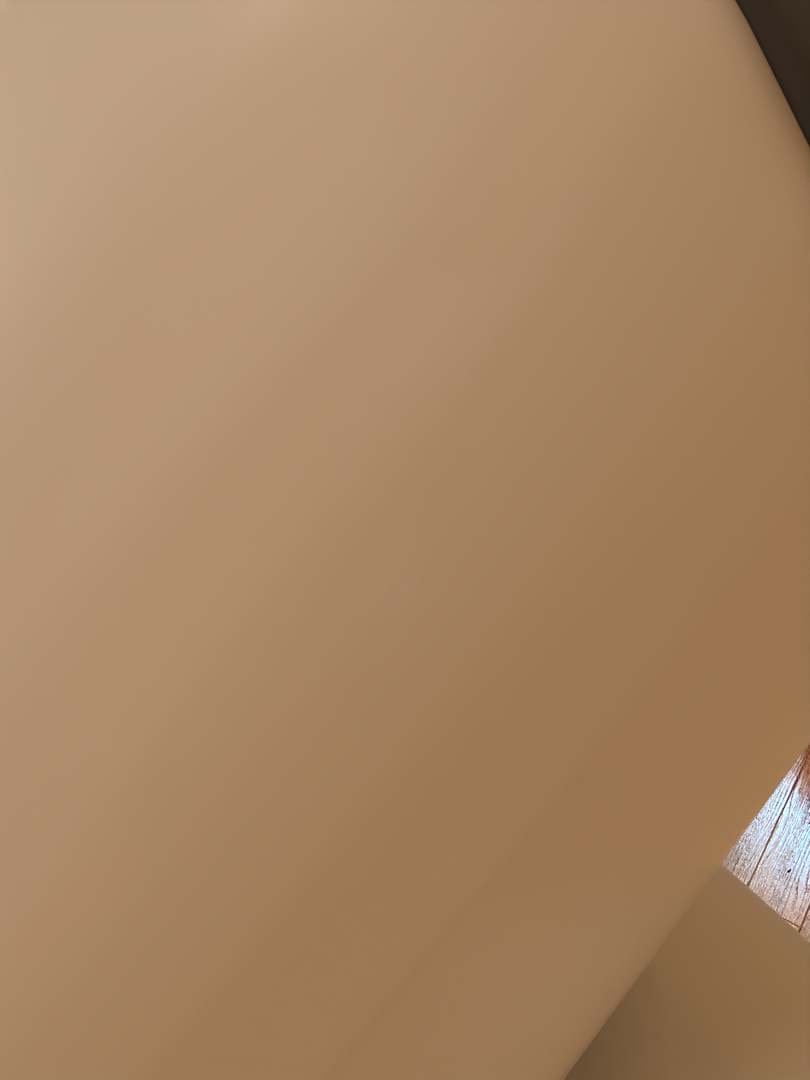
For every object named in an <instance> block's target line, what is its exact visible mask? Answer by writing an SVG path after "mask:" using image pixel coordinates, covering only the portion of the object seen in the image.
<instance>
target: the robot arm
mask: <svg viewBox="0 0 810 1080" xmlns="http://www.w3.org/2000/svg"><path fill="white" fill-rule="evenodd" d="M809 745H810V0H0V1080H810V941H809V940H808V939H807V938H805V936H803V934H801V933H800V932H799V931H798V930H797V929H796V928H795V927H794V926H792V924H790V923H789V921H787V920H786V919H784V917H783V916H782V915H780V913H778V912H777V911H775V910H774V909H773V907H772V906H770V905H769V904H768V903H767V902H766V901H765V900H764V899H763V898H762V897H760V896H759V894H758V893H756V892H755V891H754V890H752V889H751V888H750V887H749V886H748V885H747V884H746V883H744V881H742V880H741V879H740V878H739V877H738V876H737V875H736V874H734V873H733V872H732V871H731V870H730V869H729V868H727V867H726V866H725V865H724V864H723V863H724V861H725V860H726V858H727V857H728V856H729V855H730V853H731V851H732V850H733V849H734V848H735V846H736V845H737V843H738V842H739V841H740V839H741V838H742V837H743V835H744V834H745V832H746V831H747V829H749V827H750V826H751V824H752V823H753V822H754V820H755V819H756V817H757V816H758V815H759V813H760V812H761V811H762V809H763V808H764V806H765V805H766V803H768V801H769V800H770V798H771V797H772V796H773V794H774V793H775V791H776V790H777V789H778V788H779V786H780V784H781V783H782V782H783V780H784V779H785V778H786V777H787V775H788V773H789V772H790V771H791V770H792V768H793V767H794V766H795V764H796V762H797V761H798V760H799V758H800V757H801V756H802V754H804V752H805V750H806V749H807V748H808V746H809Z"/></svg>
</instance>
